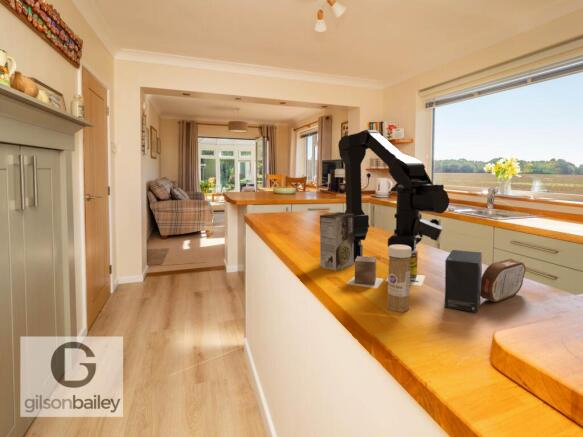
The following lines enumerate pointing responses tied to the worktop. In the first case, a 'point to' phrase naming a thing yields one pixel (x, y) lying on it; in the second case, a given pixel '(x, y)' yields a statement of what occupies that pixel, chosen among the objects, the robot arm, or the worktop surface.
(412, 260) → the supplement bottle
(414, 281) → the label tile
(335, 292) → the worktop surface
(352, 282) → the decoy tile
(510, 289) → the tin
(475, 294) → the small box
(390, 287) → the sprinkles bottle
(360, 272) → the walnut block
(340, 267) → the coffee box
